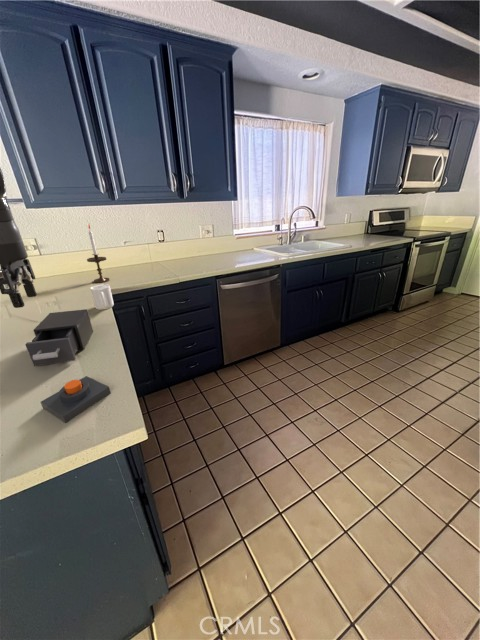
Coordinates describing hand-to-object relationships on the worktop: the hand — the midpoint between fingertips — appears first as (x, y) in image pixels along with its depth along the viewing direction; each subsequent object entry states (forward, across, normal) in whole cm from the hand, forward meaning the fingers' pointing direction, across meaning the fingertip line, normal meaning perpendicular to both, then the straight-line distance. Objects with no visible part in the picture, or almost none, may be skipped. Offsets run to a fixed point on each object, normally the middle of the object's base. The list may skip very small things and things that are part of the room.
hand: (26, 301), depth 73 cm
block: (+22, +19, +12) cm, 31 cm away
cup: (+22, -50, +8) cm, 55 cm away
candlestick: (+22, -102, -1) cm, 104 cm away
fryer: (+22, -17, +1) cm, 28 cm away
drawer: (+21, -6, +1) cm, 22 cm away
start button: (+19, +19, +12) cm, 29 cm away
